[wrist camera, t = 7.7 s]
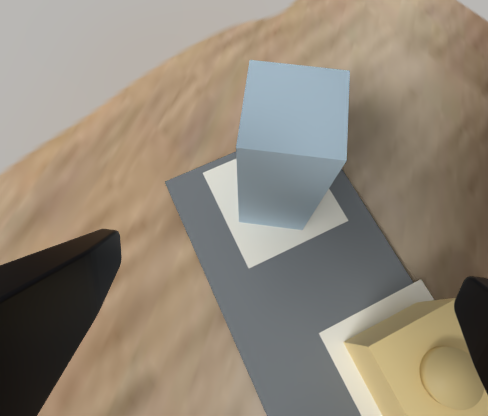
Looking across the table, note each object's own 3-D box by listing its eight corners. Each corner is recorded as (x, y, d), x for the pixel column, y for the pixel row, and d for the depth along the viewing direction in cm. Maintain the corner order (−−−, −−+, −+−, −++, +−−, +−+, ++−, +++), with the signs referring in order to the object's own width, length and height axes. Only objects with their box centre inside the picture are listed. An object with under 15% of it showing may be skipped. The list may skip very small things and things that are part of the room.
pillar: (302, 230, 21) (346, 160, 12) (238, 222, 21) (236, 147, 12) (306, 172, 22) (349, 70, 13) (246, 165, 23) (249, 60, 14)
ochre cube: (470, 388, 18) (541, 409, 14) (393, 435, 18) (442, 472, 13) (416, 302, 20) (466, 296, 15) (343, 342, 19) (373, 347, 15)
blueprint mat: (492, 397, 18) (497, 398, 18) (308, 510, 17) (310, 513, 16) (316, 119, 24) (317, 116, 24) (165, 183, 22) (164, 181, 22)
